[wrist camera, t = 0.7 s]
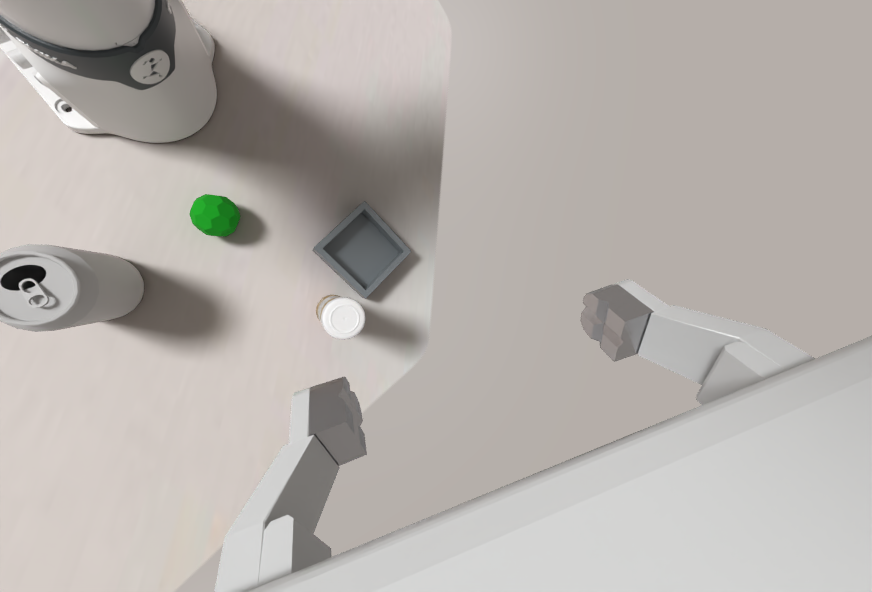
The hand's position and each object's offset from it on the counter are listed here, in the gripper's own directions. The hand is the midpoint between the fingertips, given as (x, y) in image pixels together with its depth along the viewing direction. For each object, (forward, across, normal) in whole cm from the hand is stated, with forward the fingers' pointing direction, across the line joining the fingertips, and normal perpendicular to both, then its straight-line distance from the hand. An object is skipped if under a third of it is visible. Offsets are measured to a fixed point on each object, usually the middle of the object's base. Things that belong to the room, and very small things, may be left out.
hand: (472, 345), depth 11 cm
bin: (+37, +4, +15) cm, 41 cm away
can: (+34, +33, +8) cm, 48 cm away
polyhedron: (+39, +20, +6) cm, 44 cm away
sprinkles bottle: (+33, +11, +20) cm, 40 cm away
